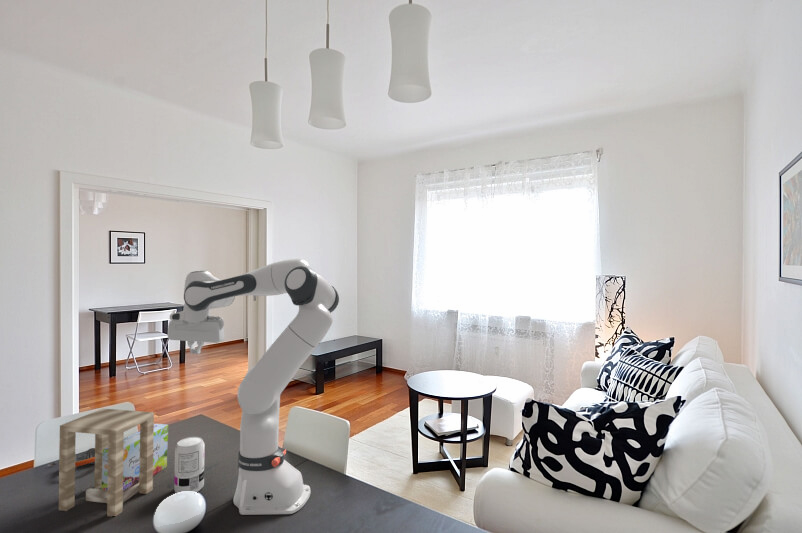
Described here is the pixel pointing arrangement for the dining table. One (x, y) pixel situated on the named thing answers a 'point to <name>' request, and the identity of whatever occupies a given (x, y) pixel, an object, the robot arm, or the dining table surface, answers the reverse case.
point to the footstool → (111, 435)
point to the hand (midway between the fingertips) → (195, 353)
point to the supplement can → (189, 465)
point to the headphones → (89, 459)
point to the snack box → (138, 457)
